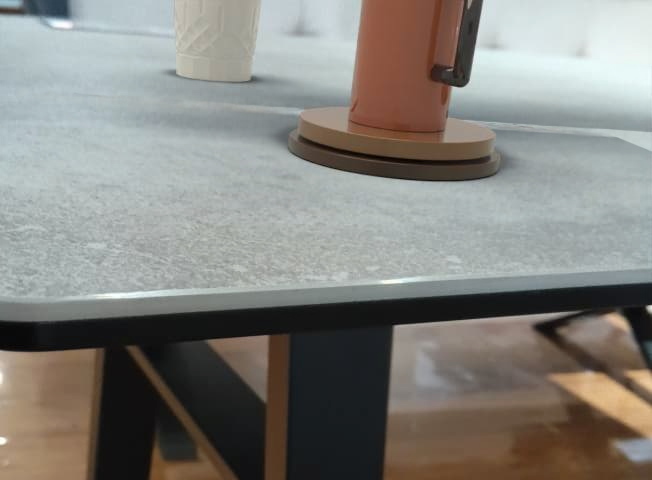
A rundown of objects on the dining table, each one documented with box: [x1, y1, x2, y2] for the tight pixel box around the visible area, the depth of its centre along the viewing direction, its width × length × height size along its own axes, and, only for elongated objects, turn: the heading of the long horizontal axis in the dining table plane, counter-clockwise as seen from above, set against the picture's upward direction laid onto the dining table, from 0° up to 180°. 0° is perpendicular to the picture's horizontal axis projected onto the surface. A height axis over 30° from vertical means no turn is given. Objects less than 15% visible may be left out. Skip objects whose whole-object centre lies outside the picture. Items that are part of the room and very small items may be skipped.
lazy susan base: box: [287, 127, 501, 181], centre depth 55 cm, size 13×13×1 cm
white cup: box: [173, 0, 262, 83], centre depth 78 cm, size 8×8×10 cm
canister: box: [297, 0, 497, 161], centre depth 52 cm, size 12×12×13 cm
